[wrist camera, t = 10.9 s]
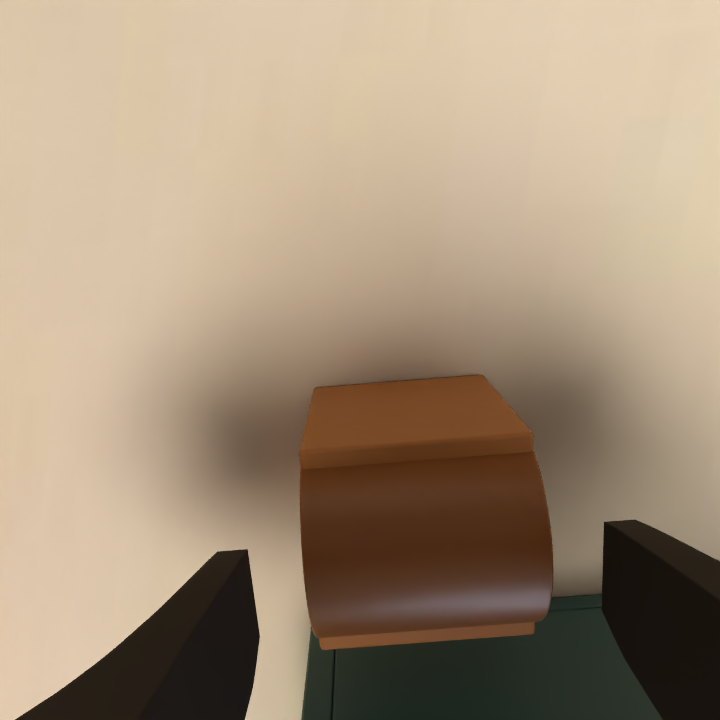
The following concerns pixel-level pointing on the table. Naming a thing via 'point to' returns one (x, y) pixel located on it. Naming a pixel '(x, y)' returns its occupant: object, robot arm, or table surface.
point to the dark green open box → (484, 675)
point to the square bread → (421, 515)
